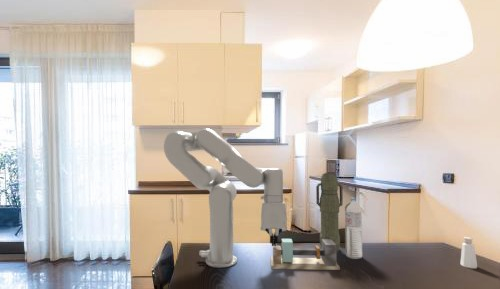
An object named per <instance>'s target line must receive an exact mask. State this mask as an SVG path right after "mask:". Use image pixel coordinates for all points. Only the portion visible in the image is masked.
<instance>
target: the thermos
mask: <svg viewBox="0 0 500 289" xmlns="http://www.w3.org/2000/svg"><path fill="white" fill-rule="evenodd" d="M315 186H316V187H315V189H316V190H315V192H316V193H315V194H316V195H315V196H316V205H317V206H318V207H319V212H320V232H319V244H320V246H319V248H320V249H322V239H332V241H333V242H334V243H335V244H336V253H338V252H340V245H341V237H340V236H341V235H340V233H339V232H340V231H339V212H340V207H343V205H344V203H343V202H344V200H343V199H344V198H343V185H342V184H341V183H339V182H338V177H337V174H336V173H334V172H325V173H322V174H321V178H320V183H318V184H317V185H315ZM320 190H321V191H320ZM338 190H339V194H338Z"/></svg>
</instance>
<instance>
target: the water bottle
mask: <svg viewBox="0 0 500 289" xmlns="http://www.w3.org/2000/svg"><path fill="white" fill-rule="evenodd" d="M362 208H363V207H362V206H361V205H360V204H359V203H358V202H357V201H356V198H355V197H351V198H350V201H349V202H348V203H346V205H345V207H344V211H345V212H344V213H345V214H344V215H345V218H344V219H345V221H344V222H345V223H344V224H345V225H344V226H345V227H344V231H345V232H344V233H345V234H344V241H345V242H344V244H345V245H344V246H345V248H344V249H345V252H344V253H345V256H346V258H348V259H352V260H359V259H362V257H363V224H362V217H363V216H362V212H363V209H362Z"/></svg>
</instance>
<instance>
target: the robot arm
mask: <svg viewBox="0 0 500 289" xmlns="http://www.w3.org/2000/svg"><path fill="white" fill-rule="evenodd" d="M194 151H204V152H206V153H207V154H208V155H210V156H211V157H212V158H214V159H215V160H216V161H217V162H219V164H221V165H222V166H223V167H224V168H225V169H226V170H227V171H229V173H230V174H232V175H233V176H234V177H236V179H237V180H239V181H240V182H241V183H243V184H244V185H245V186H247V187H249V188H252V189H254V188H258V187H259V186H262V185H263V195H260V200H262V203H261V210H260V211H261V213H260V227H259V228H260V231H263V232H265V233H267V234H268V235H269V243H270V244H271V246H272V247H273V246H277V244H278V241H279V240H278V236H279V235H280V234H281V233H282V232H284V231H287V230H288V227H287V225H288V224H287V223H288V222H287V221H288V220H287V218H288V217H287V207H286V206H287V205H286V202H284V176H283V174H284V173H283V170H282V169H281V168H278V167H270V168H269V167H267V168H263V167H255V166H254V165H253V164H251V163H250V162H248V161H247V160H246V159H245V158H243V157H242V156H241V154H240V153H239V151H238V150H237V149H236V148H235V147H234V146H233V145H232V144H230V143H229V142H228V141H227V140H225V139H224V138H222V137H221V136H220V135H219V134H218V132H217V131H215V130H213V129H210V128H208V127H207V128H201V129H199V130H198V131H195V132H192V131H191V132H187V131H186V132H185V131H183V130H174V131H171V132H169V133H168V134H167V135H166V136H165V139H164V142H163V152H164V155H165V157H166V158H167V161H168V162H169V163H170V164H171V165H172V166H173V167H174V168H175V169H176V170H177V171H178V172H180V174H182V175H183V176H184V177H185V179H187V180H188V181H189V182H190V183H192V185H194V186H195V188H197V189H198V190H207V191H209V195H208V205H209V207H208V208H209V249H207V250H199V251H198V252H199V253H198V254H199V256H200V258H206V259H205V263H206V265H208V266H209V267H212V268H220V269H221V268H228V267H232V266H234V265H235V264H236V263H237V262H238V258H237V256H236V255H234V206H233V202H234V201H235V199H236V198H237V194H238V193H237V192H238V191H237V188H236V186H235V185H234V183H232V182H231V181H230V180H229V179H228V178H227V177H226V176H225V175H223V174H222V173H221V172H220V171H219V170H218V169H217V168H215V167H214V166H210V165H204V164H203V163H202V162H200V161H199V160H198V159H197V158H196V157H195V156H193V155H192V153H190V152H194ZM274 229H275V230H274ZM273 230H274V233H273Z"/></svg>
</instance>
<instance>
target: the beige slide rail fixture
mask: <svg viewBox="0 0 500 289" xmlns="http://www.w3.org/2000/svg"><path fill="white" fill-rule="evenodd" d="M293 256H314V257H293V262H282V245H276V246H272V256H271V257H270V258H269V259H270V260H269V261H270V269H272V270H313V271H314V270H315V271H316V270H318V271H319V270H323V271H324V270H325V271H328V270H329V271H331V270H332V271H340V270H341V268H340V265H339V264H338V263H337V252H336V244H335V243H334V242H333V241H332V239H322V249H320V246H319V245H318V244H317V245H314V248H300V247H299V248H298V247H297V248H296V247H295V248H294V247H293Z"/></svg>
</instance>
